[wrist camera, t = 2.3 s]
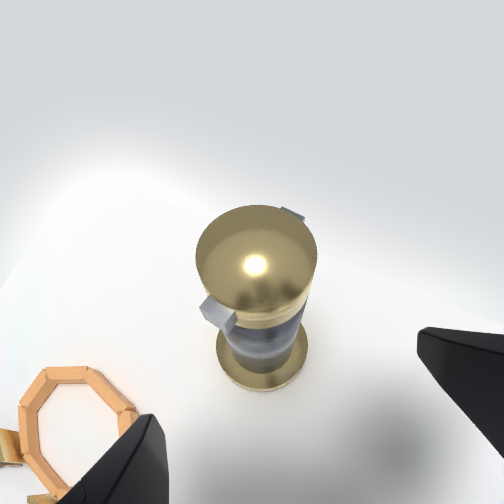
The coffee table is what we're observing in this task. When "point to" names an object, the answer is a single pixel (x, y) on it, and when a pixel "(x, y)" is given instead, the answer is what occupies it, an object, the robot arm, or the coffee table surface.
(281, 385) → the brass and grey cylinder
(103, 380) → the collar
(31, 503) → the gray block with lugs
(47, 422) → the coffee table surface
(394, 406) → the coffee table surface
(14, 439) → the grey block with pads
